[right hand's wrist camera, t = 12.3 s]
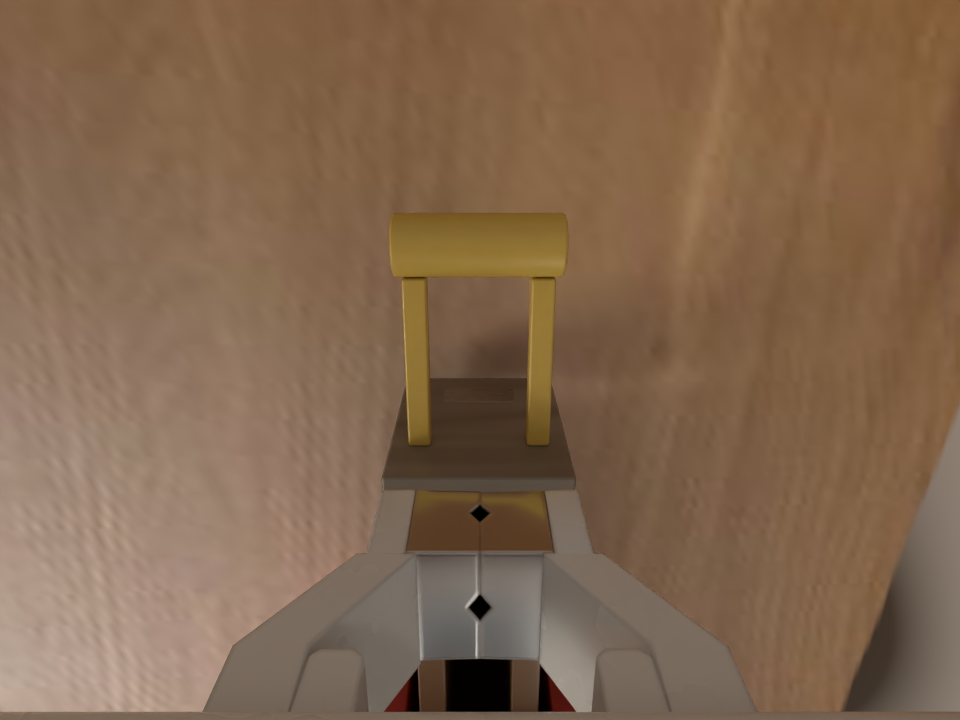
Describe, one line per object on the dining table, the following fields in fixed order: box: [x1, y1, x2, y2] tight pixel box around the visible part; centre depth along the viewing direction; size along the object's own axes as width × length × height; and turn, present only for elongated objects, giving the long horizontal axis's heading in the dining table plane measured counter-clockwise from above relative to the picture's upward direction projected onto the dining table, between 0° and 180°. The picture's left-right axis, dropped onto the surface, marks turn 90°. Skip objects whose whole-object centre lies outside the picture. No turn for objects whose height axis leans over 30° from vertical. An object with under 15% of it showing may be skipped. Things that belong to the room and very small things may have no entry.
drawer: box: [382, 213, 576, 712], centre depth 21 cm, size 23×5×6 cm, turn 0°
